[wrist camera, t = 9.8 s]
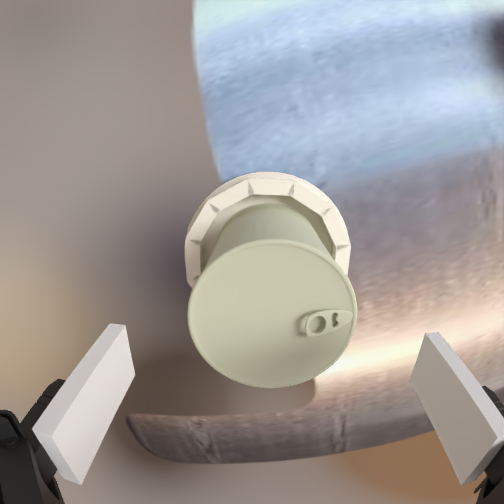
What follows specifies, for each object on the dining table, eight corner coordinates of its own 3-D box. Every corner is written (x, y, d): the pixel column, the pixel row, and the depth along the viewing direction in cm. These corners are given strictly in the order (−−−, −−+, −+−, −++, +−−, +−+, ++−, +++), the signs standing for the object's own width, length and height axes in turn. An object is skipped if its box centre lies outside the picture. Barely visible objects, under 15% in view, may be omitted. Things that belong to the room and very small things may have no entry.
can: (323, 300, 29) (355, 385, 17) (222, 308, 29) (201, 397, 18) (319, 198, 26) (362, 232, 15) (208, 208, 27) (168, 250, 15)
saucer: (185, 170, 26) (178, 171, 24) (354, 176, 26) (362, 178, 24) (189, 322, 31) (184, 335, 28) (337, 326, 30) (342, 339, 28)
